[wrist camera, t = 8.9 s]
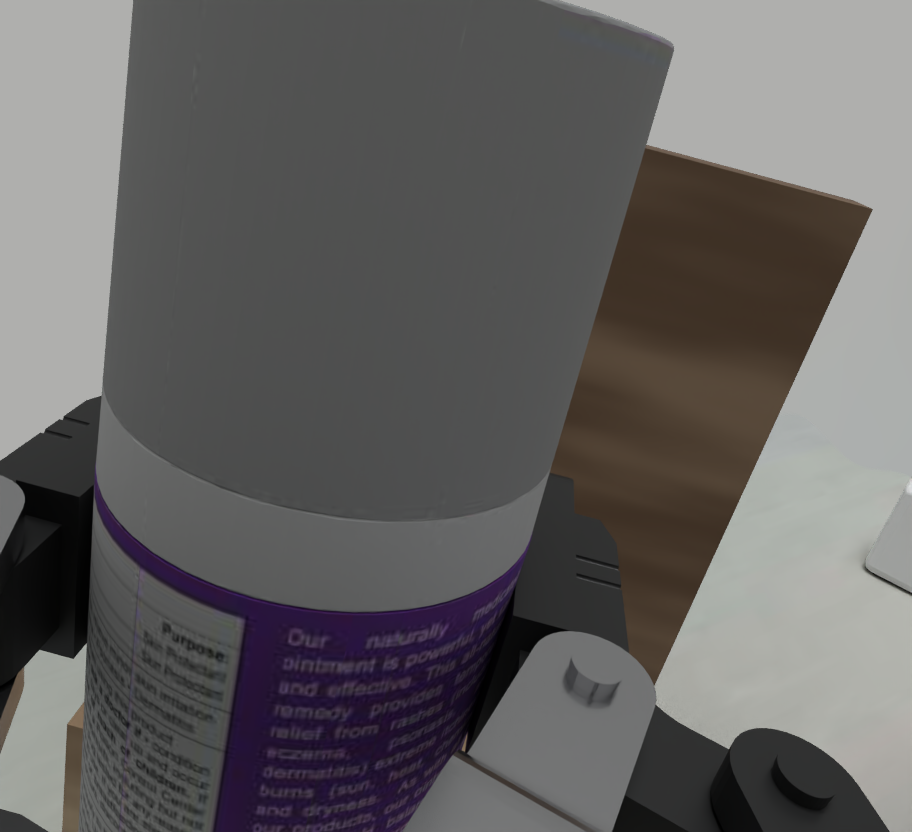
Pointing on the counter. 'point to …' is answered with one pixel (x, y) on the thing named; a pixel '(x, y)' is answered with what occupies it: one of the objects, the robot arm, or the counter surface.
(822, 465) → the counter surface
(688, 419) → the board
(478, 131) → the container
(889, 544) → the pepper shaker
